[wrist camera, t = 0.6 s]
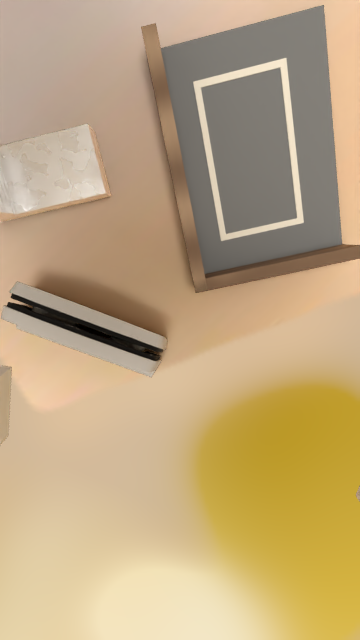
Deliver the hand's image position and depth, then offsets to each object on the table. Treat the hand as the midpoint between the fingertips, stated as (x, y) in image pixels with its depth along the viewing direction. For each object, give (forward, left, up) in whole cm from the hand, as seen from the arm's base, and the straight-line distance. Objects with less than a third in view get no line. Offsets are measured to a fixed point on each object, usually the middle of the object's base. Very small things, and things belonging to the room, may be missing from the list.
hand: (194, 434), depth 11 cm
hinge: (+1, -11, -25) cm, 27 cm away
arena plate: (-12, +9, -25) cm, 29 cm away
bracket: (-15, -11, -25) cm, 31 cm away
